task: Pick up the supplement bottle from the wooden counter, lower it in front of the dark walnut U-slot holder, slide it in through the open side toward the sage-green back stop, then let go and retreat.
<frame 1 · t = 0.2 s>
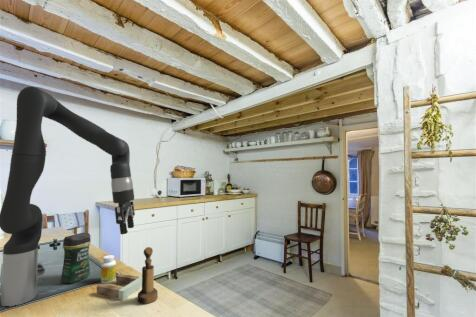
hand: (127, 230, 93), 22 cm above the countertop, tool pointing down, fingers open, 8 cm apart
supplement bottle: (108, 280, 99), on the countertop
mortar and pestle: (147, 299, 85), on the countertop
slot holder: (119, 289, 92), on the countertop
coffee jar: (76, 279, 101), on the countertop
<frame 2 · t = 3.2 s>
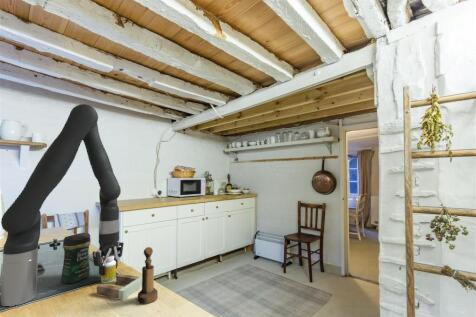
hand: (108, 271, 99), 4 cm above the countertop, tool pointing down, fingers closed on supplement bottle, 5 cm apart
supplement bottle: (108, 280, 99), on the countertop, touching gripper
everything else where it was.
when the fingers open (4 cm above the countertop, at t = 10.0 s): supplement bottle stays where it is, resting in slot holder.
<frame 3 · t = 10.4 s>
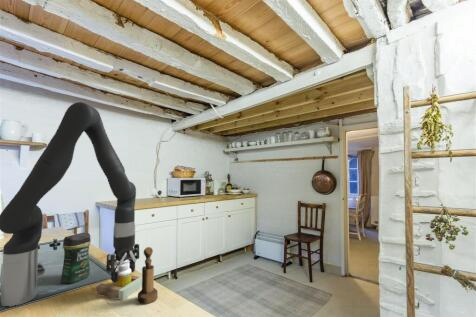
hand: (123, 276, 91), 5 cm above the countertop, tool pointing down, fingers open, 8 cm apart
supplement bottle: (123, 290, 91), resting in slot holder
everything else where it was.
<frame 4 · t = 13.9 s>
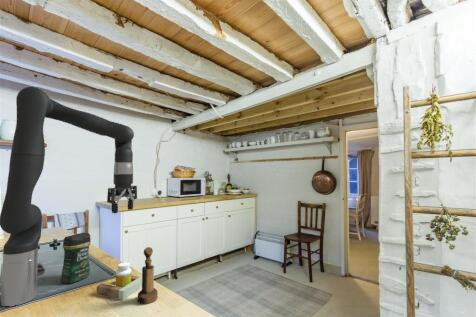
hand: (122, 211, 102), 28 cm above the countertop, tool pointing down, fingers open, 8 cm apart
nothing on the countertop moved.
at the end: supplement bottle 0.3 cm from the target spot on the slot holder, point 0.0 cm above the slot holder's base; supplement bottle tilted 0°; the gripper is holding nothing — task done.
